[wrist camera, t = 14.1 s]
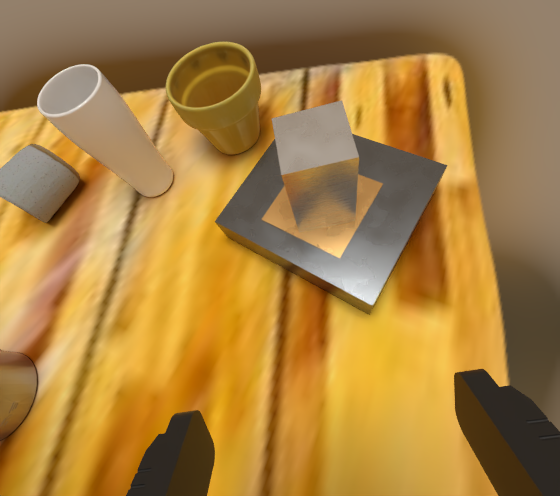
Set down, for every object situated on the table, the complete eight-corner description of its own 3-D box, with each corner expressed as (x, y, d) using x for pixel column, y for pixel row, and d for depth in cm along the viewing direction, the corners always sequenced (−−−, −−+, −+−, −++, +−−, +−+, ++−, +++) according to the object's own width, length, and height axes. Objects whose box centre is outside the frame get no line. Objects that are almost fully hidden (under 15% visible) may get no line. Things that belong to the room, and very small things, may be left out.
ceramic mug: (95, 182, 45) (48, 145, 38) (58, 229, 42) (1, 200, 36) (50, 163, 48) (0, 126, 41) (14, 206, 46) (-45, 174, 39)
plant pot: (229, 181, 40) (196, 124, 31) (187, 140, 44) (148, 80, 35) (289, 132, 41) (273, 64, 32) (243, 96, 46) (218, 28, 37)
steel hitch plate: (227, 237, 37) (214, 221, 33) (297, 138, 41) (292, 113, 37) (369, 314, 30) (372, 305, 27) (436, 188, 34) (447, 164, 30)
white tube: (164, 209, 40) (73, 122, 27) (125, 197, 42) (21, 111, 29) (188, 166, 42) (114, 66, 29) (149, 157, 44) (63, 59, 31)
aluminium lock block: (355, 220, 30) (359, 156, 21) (299, 232, 31) (281, 175, 22) (342, 172, 32) (341, 97, 24) (290, 184, 33) (271, 115, 24)
